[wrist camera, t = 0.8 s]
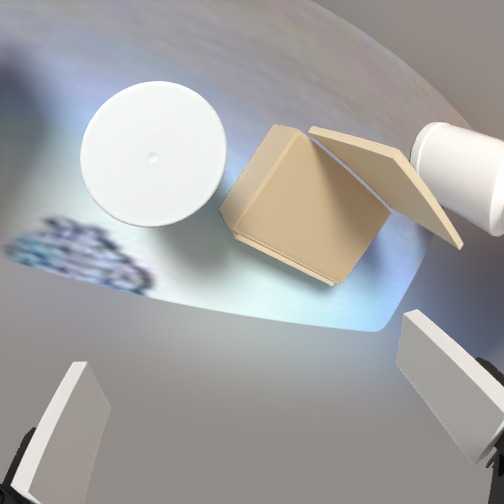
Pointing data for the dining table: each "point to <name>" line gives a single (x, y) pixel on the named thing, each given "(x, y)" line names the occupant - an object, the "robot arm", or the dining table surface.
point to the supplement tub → (153, 154)
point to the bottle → (463, 172)
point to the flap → (390, 180)
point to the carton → (303, 207)
